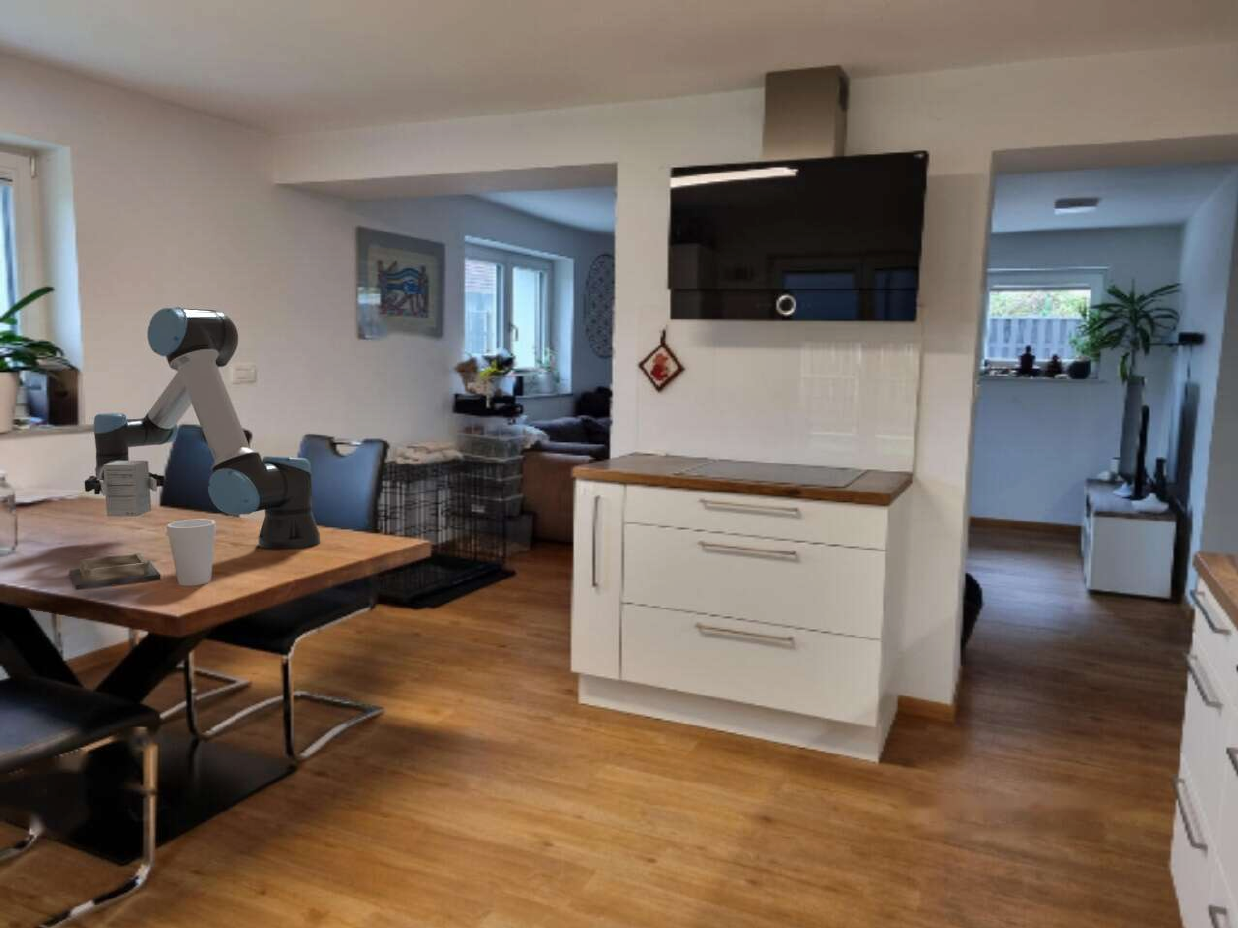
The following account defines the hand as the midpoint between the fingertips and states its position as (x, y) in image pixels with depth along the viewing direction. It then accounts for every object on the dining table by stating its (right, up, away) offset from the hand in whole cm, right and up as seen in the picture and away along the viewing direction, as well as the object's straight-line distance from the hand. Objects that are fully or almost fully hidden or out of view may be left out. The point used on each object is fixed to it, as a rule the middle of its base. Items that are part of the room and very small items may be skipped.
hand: (130, 487), depth 205 cm
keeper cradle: (+3, -20, -12) cm, 23 cm away
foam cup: (+23, -20, -16) cm, 34 cm away
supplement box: (-3, -7, +4) cm, 8 cm away
